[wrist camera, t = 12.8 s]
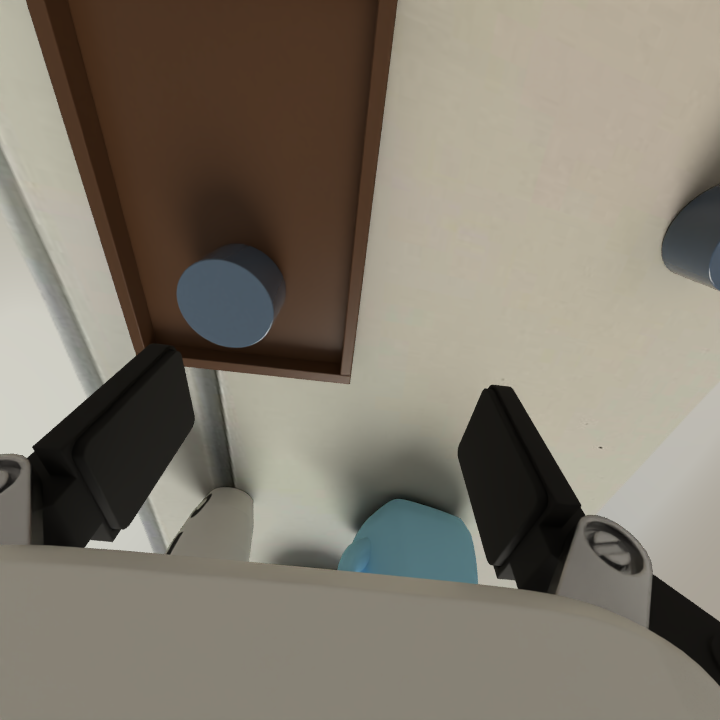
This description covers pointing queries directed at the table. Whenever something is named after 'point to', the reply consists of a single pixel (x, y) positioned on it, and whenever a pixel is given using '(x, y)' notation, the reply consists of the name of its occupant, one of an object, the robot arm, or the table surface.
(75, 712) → the robot arm
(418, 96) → the table surface
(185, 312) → the blue short cylinder
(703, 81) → the table surface
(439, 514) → the teapot
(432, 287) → the table surface
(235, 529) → the cup
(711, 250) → the blue-grey hockey puck
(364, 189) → the tray
